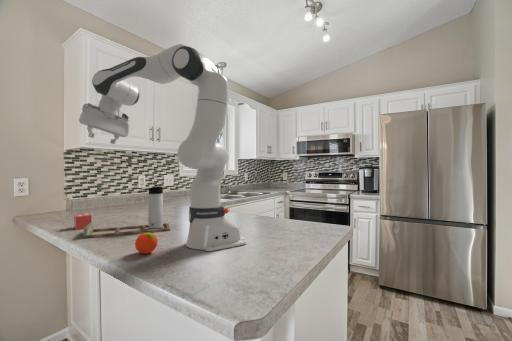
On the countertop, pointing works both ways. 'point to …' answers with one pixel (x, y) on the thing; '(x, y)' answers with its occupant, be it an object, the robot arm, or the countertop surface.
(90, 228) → the wooden ladder frame
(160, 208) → the travel mug
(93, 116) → the robot arm
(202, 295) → the countertop surface
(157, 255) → the countertop surface
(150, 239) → the clementine
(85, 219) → the red die
